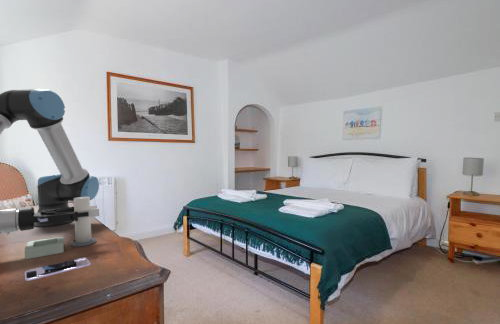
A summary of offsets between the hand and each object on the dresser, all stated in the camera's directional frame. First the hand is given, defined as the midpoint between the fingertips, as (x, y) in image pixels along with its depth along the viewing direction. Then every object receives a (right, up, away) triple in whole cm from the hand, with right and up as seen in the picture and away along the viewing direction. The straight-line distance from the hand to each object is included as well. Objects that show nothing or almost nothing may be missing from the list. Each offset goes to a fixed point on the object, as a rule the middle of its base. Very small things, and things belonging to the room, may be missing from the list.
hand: (97, 210), depth 102 cm
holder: (-12, -12, -10) cm, 20 cm away
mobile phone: (+2, -13, -24) cm, 28 cm away
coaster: (-4, -12, -2) cm, 12 cm away
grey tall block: (-4, -11, -2) cm, 12 cm away
